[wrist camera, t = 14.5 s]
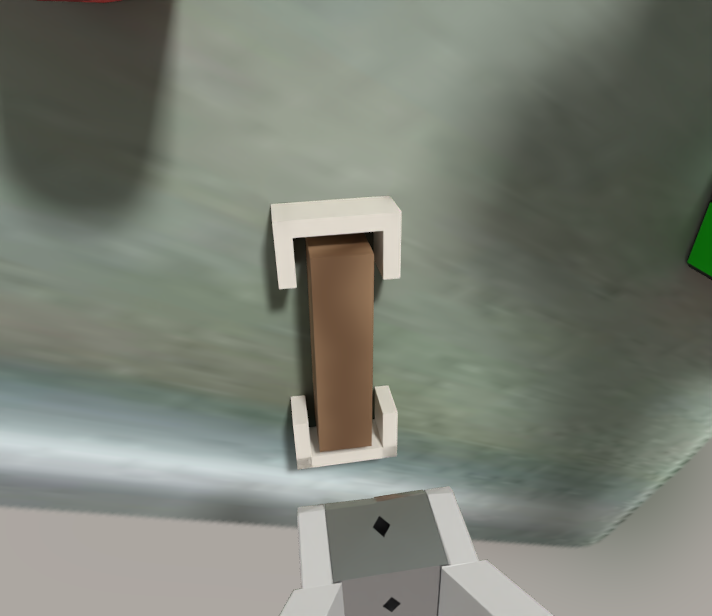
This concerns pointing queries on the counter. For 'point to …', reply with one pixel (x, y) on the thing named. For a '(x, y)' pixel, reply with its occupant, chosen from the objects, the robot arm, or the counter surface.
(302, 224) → the cap
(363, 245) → the slat
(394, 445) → the cap
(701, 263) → the puzzle cube
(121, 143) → the counter surface
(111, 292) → the counter surface
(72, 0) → the canned food
